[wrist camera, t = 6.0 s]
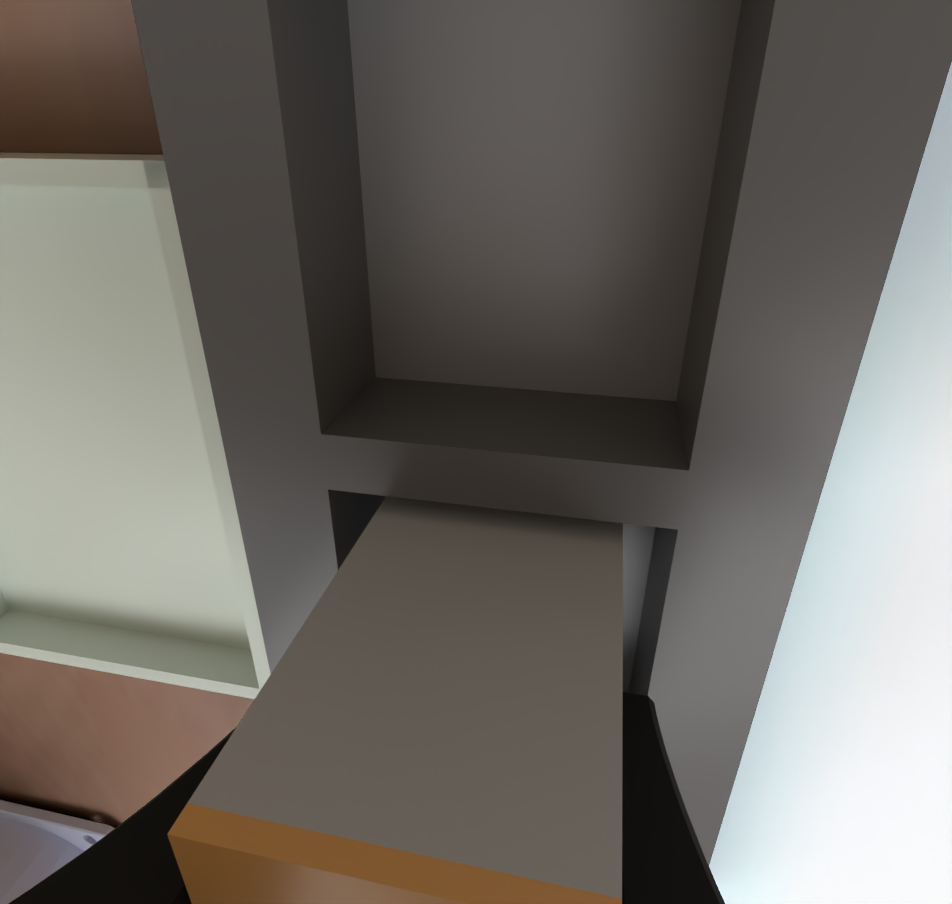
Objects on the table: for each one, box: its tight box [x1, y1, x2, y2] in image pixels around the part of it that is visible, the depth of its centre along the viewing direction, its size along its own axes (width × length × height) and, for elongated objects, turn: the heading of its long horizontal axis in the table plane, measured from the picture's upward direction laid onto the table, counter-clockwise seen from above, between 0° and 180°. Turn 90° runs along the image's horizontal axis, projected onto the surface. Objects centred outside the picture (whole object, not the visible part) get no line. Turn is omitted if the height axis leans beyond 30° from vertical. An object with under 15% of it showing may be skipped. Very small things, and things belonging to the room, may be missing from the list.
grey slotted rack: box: [131, 0, 952, 866], centre depth 13 cm, size 9×24×3 cm, turn 0°
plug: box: [167, 496, 623, 904], centre depth 10 cm, size 4×5×7 cm
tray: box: [0, 152, 271, 699], centre depth 14 cm, size 9×12×2 cm
